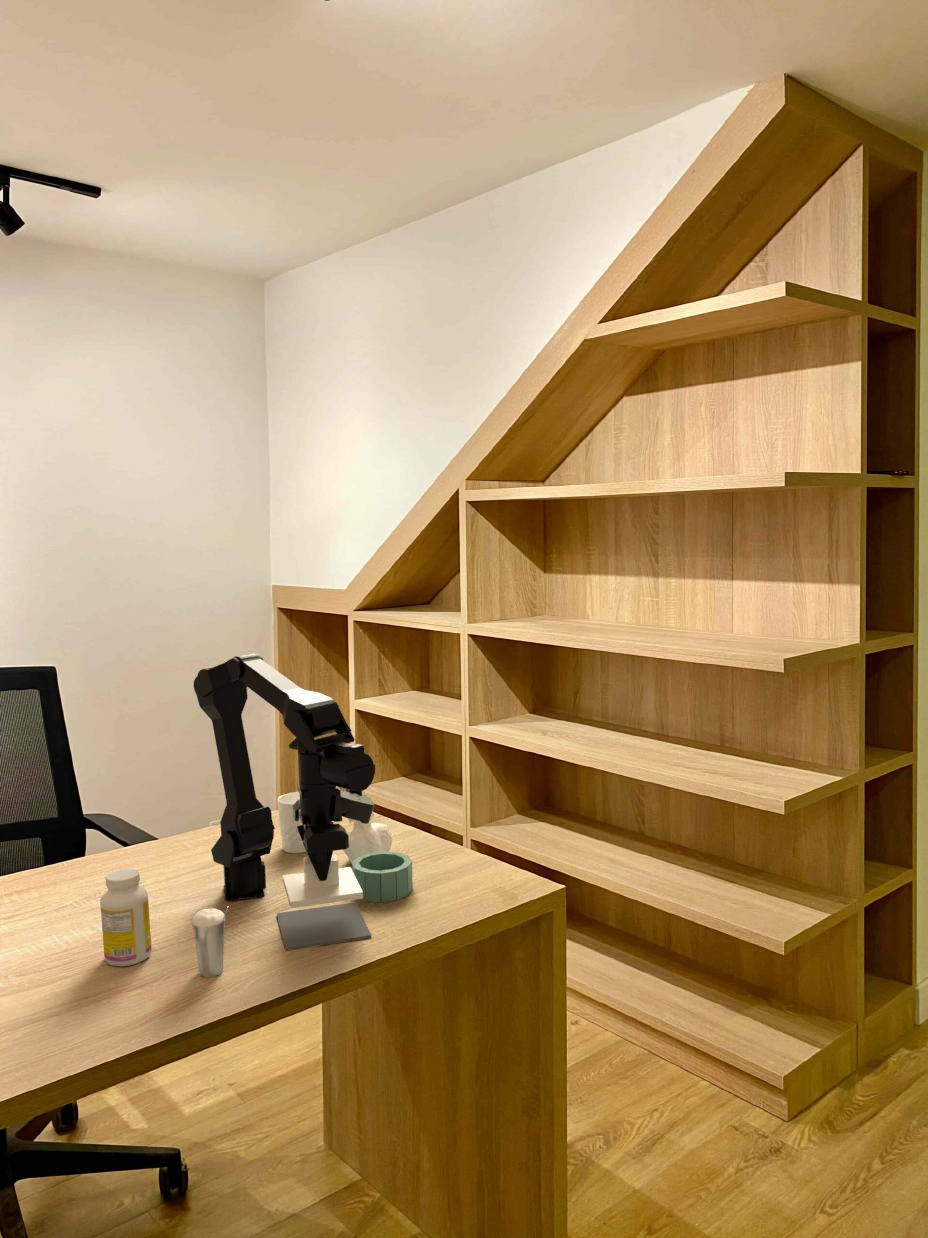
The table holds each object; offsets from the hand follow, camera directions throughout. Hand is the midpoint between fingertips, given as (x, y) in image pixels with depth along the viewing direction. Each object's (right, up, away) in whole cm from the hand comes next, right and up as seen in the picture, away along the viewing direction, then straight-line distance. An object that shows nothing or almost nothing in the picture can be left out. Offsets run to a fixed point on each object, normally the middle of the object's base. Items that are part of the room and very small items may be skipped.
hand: (321, 876), depth 148 cm
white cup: (-10, -5, +37) cm, 38 cm away
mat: (0, -8, +1) cm, 8 cm away
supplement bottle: (-27, -10, -8) cm, 30 cm away
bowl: (+8, -6, +15) cm, 18 cm away
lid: (0, -2, 0) cm, 2 cm away
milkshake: (-13, -10, -13) cm, 21 cm away
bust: (+4, -5, +30) cm, 31 cm away
